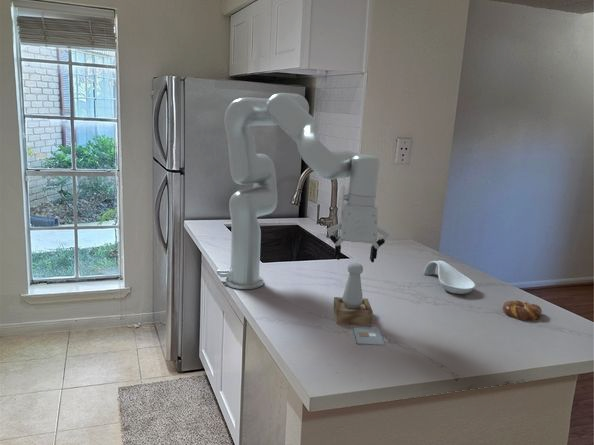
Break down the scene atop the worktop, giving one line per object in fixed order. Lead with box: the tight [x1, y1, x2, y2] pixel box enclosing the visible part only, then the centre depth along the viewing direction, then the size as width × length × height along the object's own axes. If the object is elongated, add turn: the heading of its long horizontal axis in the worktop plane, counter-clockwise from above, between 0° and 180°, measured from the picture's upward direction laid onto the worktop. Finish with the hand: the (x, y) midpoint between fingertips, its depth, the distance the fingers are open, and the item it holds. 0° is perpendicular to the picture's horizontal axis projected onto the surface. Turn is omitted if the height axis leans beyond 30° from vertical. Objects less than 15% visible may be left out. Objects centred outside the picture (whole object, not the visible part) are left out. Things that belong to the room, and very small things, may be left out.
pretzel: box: [502, 300, 543, 322], centre depth 160 cm, size 12×11×4 cm
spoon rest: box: [423, 260, 476, 295], centre depth 181 cm, size 24×12×7 cm, turn 18°
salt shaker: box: [342, 262, 364, 310], centre depth 148 cm, size 6×6×13 cm
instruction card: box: [352, 325, 386, 346], centre depth 138 cm, size 7×10×1 cm
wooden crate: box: [332, 296, 374, 326], centre depth 150 cm, size 10×10×4 cm
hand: (354, 259), depth 146 cm, fingers open, 9 cm apart
